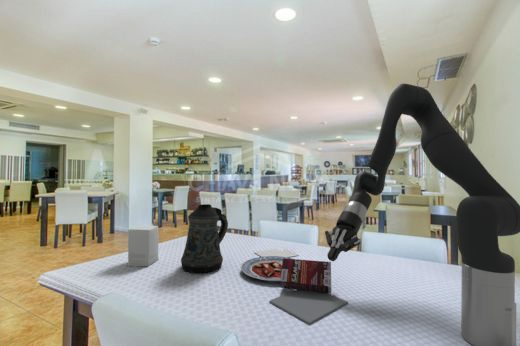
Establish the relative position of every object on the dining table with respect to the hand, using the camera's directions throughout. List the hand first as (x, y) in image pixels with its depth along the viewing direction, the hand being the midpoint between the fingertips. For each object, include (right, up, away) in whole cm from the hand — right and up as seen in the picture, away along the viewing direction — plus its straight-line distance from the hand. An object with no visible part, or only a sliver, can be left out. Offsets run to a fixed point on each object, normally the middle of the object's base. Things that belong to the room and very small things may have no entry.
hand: (330, 259), depth 84 cm
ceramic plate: (-17, -11, +19) cm, 28 cm away
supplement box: (+1, -6, 0) cm, 6 cm away
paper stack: (-14, -12, +47) cm, 51 cm away
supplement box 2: (-71, -11, +28) cm, 77 cm away
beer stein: (-45, -11, +25) cm, 53 cm away
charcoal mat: (-8, -11, -6) cm, 15 cm away
